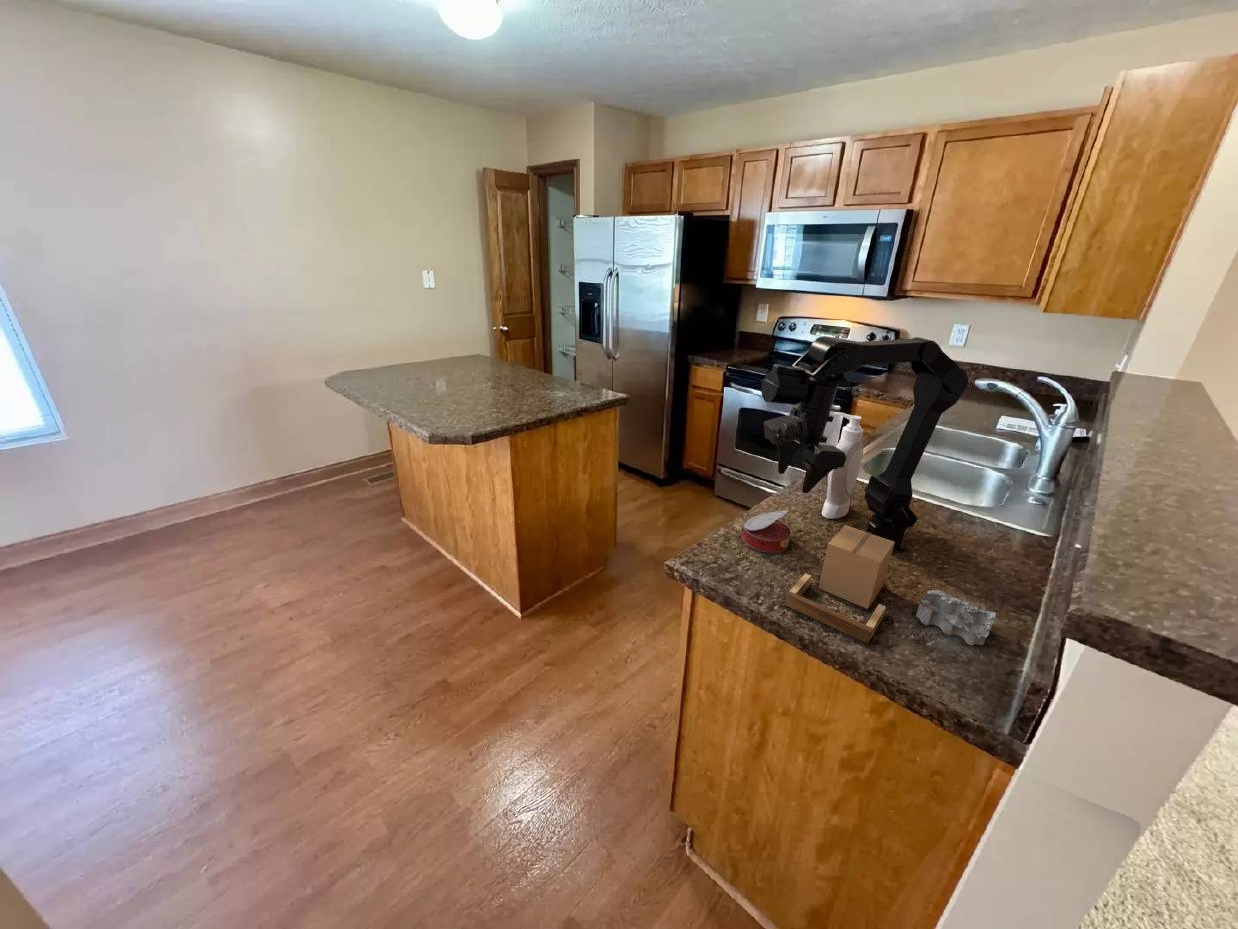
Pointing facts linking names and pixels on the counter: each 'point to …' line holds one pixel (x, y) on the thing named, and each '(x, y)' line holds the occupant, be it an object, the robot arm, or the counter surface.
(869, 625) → the bay
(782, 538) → the canned food
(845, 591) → the cardboard box
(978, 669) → the counter surface
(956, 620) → the egg carton
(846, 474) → the soap bottle
